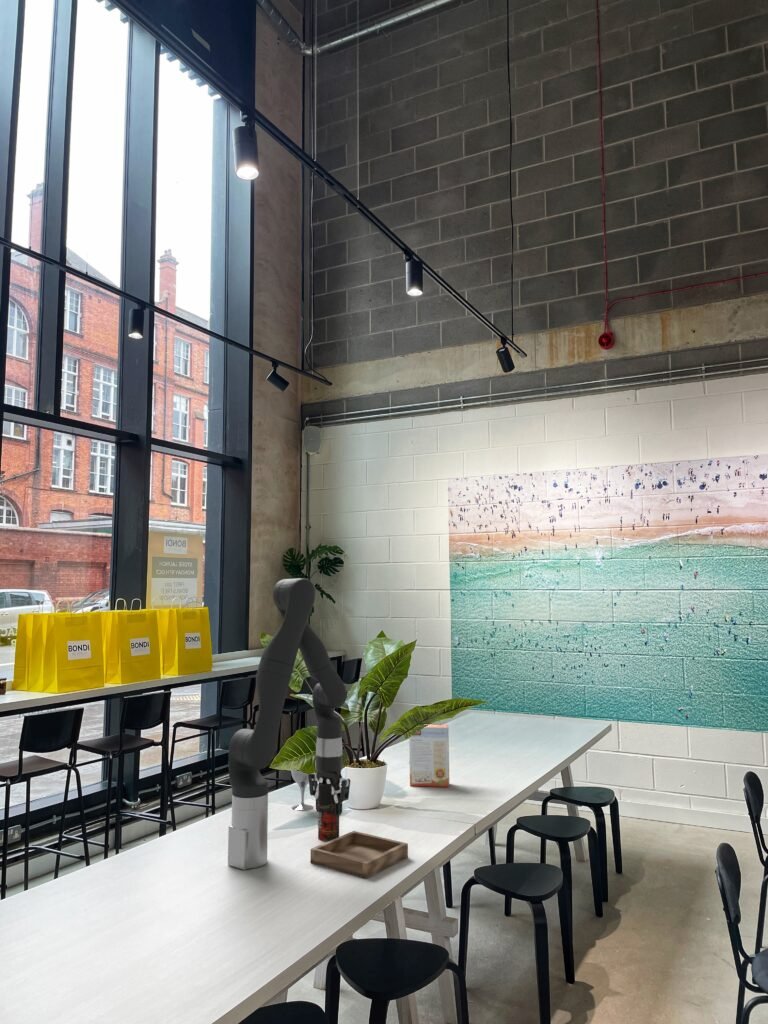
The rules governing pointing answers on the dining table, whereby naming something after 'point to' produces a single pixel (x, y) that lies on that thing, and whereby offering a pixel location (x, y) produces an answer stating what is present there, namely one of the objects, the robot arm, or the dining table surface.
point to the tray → (359, 854)
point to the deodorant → (327, 813)
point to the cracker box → (430, 756)
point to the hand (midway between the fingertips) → (328, 813)
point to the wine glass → (302, 782)
